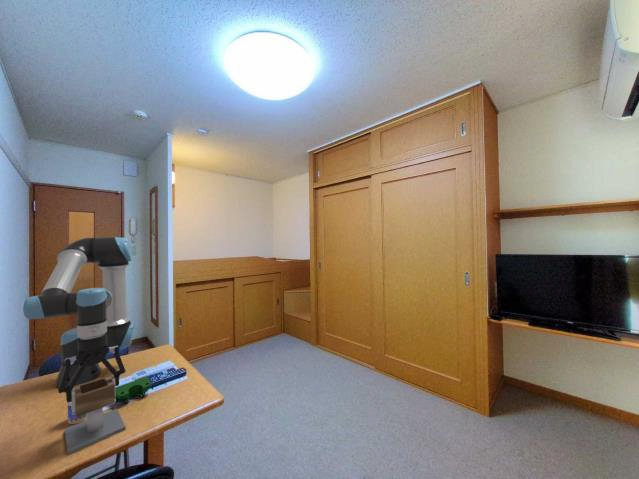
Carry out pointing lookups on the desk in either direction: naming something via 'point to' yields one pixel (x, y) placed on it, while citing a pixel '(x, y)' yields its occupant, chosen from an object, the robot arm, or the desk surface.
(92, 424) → the gray base with post
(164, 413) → the desk surface
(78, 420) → the pill bottle
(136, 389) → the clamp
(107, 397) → the wooden box
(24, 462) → the desk surface
